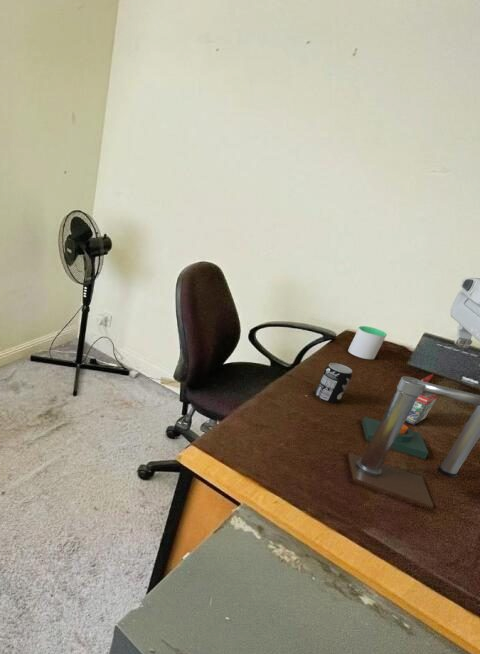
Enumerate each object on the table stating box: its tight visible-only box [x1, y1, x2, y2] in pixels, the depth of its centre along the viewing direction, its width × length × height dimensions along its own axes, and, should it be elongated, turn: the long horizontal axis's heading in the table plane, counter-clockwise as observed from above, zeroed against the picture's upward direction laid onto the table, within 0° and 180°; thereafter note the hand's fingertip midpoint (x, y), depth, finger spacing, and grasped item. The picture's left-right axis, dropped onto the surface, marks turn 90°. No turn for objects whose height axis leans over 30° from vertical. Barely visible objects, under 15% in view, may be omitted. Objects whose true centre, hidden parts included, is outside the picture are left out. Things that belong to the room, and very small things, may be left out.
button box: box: [361, 416, 429, 460], centre depth 116 cm, size 12×10×4 cm
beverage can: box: [314, 362, 353, 404], centre depth 133 cm, size 7×7×12 cm
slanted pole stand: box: [347, 388, 434, 509], centre depth 98 cm, size 14×11×26 cm
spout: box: [396, 376, 480, 479], centre depth 95 cm, size 16×4×21 cm, turn 54°
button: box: [399, 423, 409, 434], centre depth 115 cm, size 4×4×2 cm
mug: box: [347, 325, 387, 360], centre depth 161 cm, size 12×8×10 cm
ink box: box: [405, 373, 439, 426], centre depth 123 cm, size 4×8×15 cm, turn 116°
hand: (472, 357), depth 83 cm, fingers open, 8 cm apart
